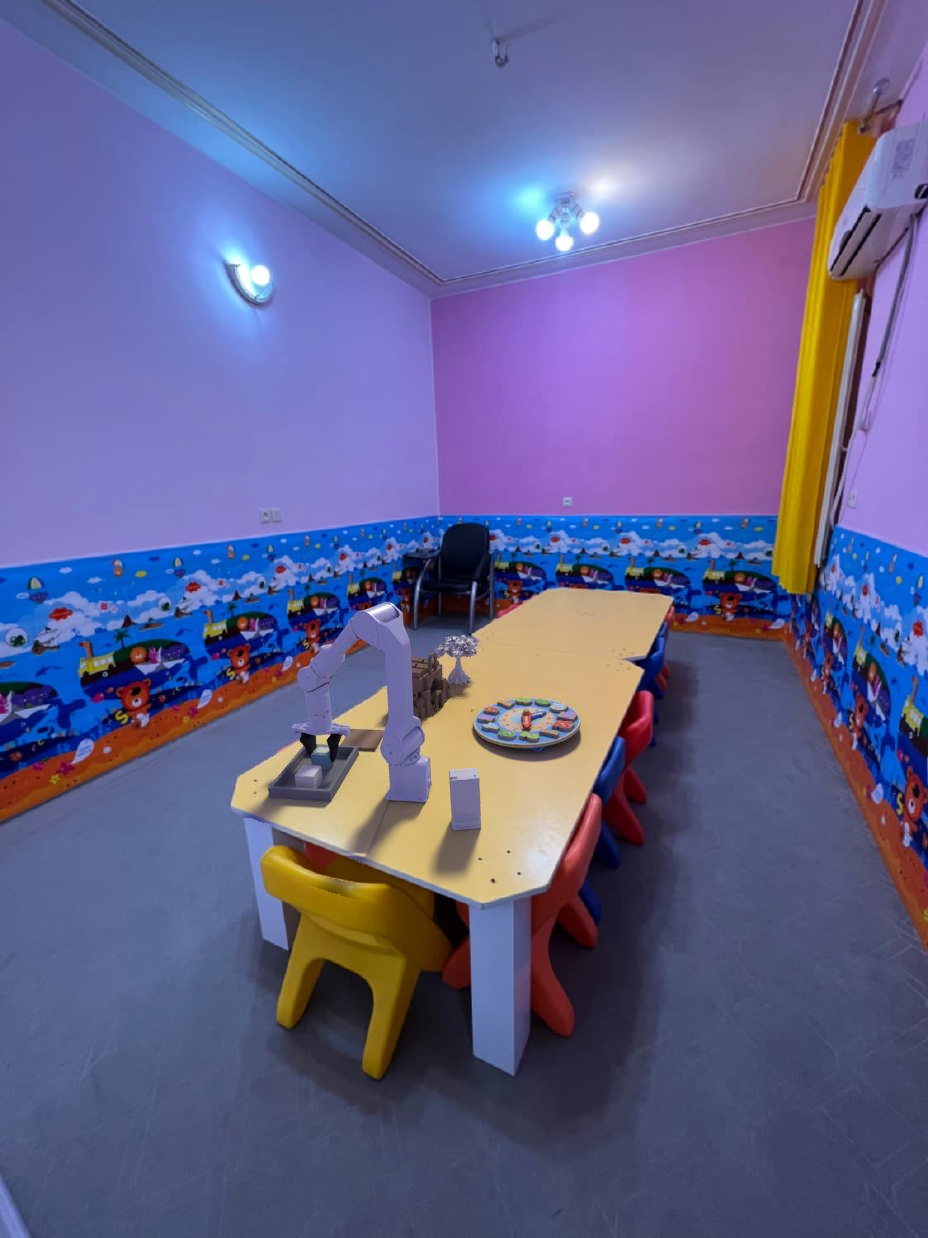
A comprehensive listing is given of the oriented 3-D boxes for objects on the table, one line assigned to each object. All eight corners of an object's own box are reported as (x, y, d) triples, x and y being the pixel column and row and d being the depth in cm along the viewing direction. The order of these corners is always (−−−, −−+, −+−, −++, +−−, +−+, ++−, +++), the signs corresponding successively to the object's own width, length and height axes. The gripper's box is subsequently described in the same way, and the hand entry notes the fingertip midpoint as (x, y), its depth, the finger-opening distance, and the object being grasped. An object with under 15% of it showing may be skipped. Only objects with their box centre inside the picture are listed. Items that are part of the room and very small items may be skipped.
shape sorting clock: (507, 697, 162) (507, 681, 160) (596, 721, 145) (597, 702, 143) (452, 736, 138) (452, 716, 136) (551, 769, 121) (551, 748, 119)
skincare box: (478, 815, 104) (478, 765, 101) (481, 830, 100) (480, 778, 96) (450, 818, 103) (448, 768, 100) (451, 832, 99) (450, 780, 96)
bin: (359, 756, 128) (358, 746, 127) (331, 803, 109) (330, 791, 108) (306, 753, 129) (304, 743, 128) (269, 799, 111) (268, 788, 110)
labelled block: (336, 760, 125) (334, 745, 124) (329, 769, 121) (328, 755, 120) (319, 759, 126) (318, 745, 125) (312, 769, 121) (310, 754, 120)
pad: (385, 733, 139) (385, 730, 139) (375, 752, 129) (375, 748, 129) (351, 732, 140) (351, 728, 140) (339, 750, 130) (338, 746, 130)
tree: (473, 668, 187) (472, 627, 182) (490, 684, 172) (489, 639, 168) (428, 676, 181) (426, 633, 176) (441, 692, 166) (440, 646, 162)
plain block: (322, 780, 117) (321, 765, 115) (315, 791, 112) (313, 776, 111) (304, 779, 117) (303, 764, 116) (296, 790, 113) (294, 775, 112)
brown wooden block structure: (418, 689, 170) (416, 638, 165) (456, 695, 163) (455, 643, 159) (382, 715, 150) (378, 658, 145) (423, 724, 144) (421, 665, 139)
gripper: (352, 704, 122) (357, 752, 126) (297, 702, 124) (303, 750, 128) (342, 717, 116) (347, 767, 119) (284, 715, 117) (291, 764, 121)
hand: (324, 759), depth 123 cm, fingers closed on labelled block, 4 cm apart
